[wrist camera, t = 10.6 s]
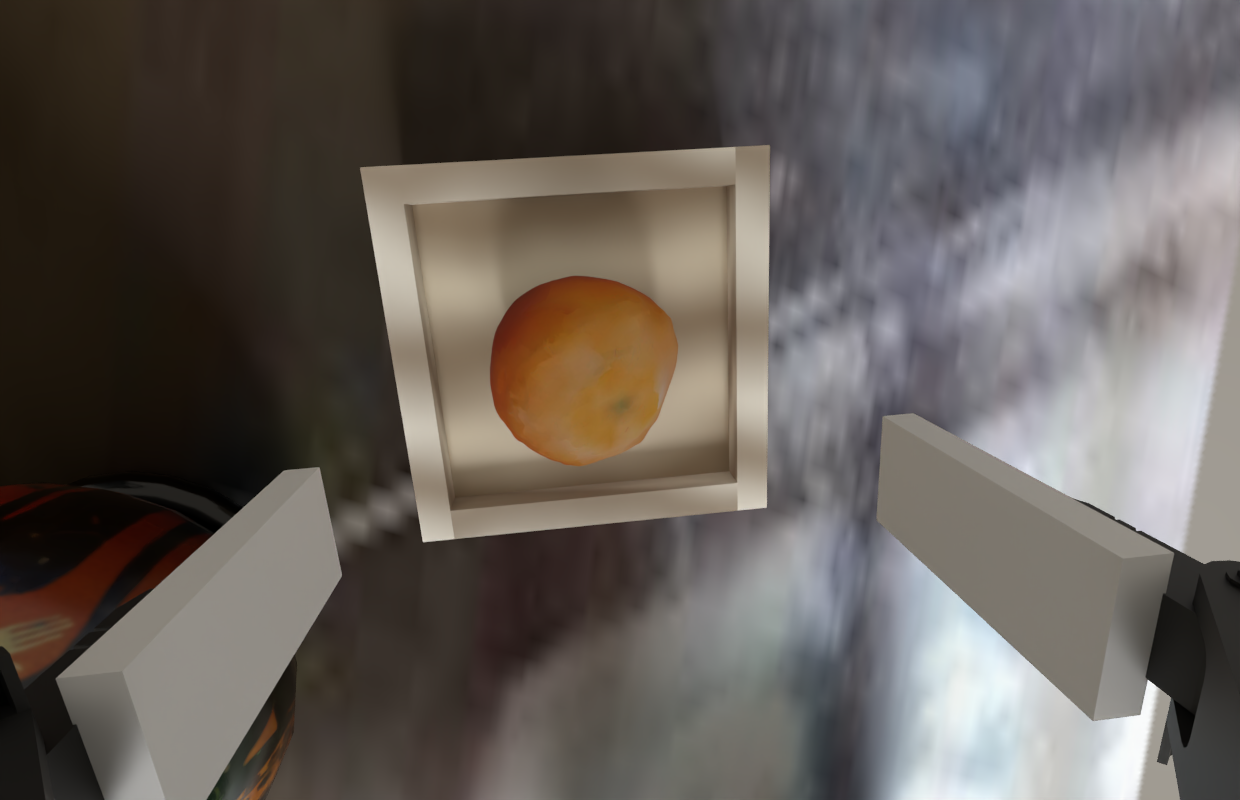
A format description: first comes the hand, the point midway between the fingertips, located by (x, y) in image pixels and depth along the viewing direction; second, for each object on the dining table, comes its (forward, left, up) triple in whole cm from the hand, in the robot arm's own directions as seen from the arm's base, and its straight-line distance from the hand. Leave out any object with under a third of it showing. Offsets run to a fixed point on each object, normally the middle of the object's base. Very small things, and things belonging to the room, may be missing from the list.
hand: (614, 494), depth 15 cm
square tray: (0, 0, -22) cm, 22 cm away
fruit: (0, 0, -16) cm, 16 cm away
